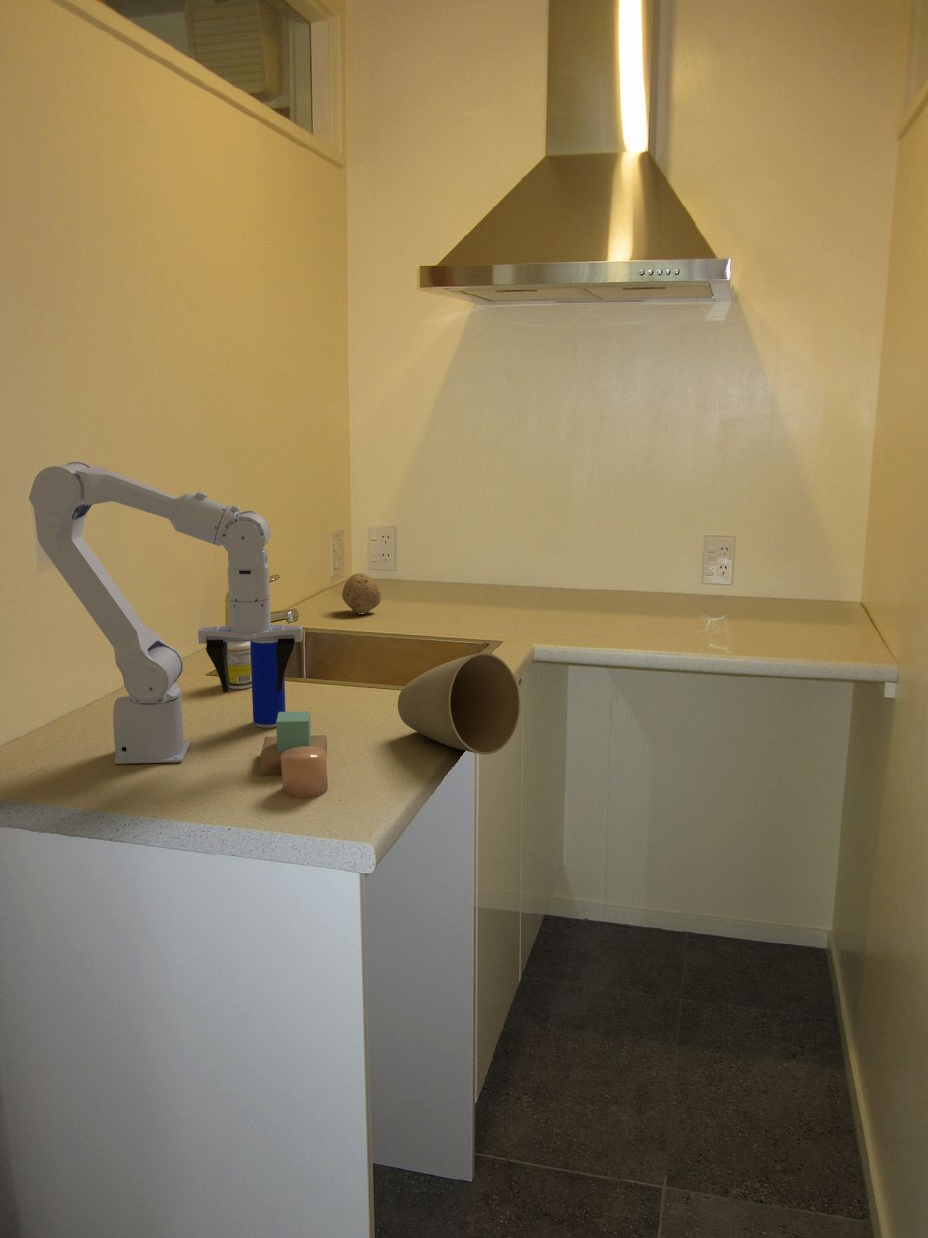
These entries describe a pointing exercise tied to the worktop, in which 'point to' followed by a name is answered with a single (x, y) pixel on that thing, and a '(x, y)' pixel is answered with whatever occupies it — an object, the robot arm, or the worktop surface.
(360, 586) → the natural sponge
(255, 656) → the beverage can
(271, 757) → the base
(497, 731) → the plant pot
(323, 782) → the rounded knob
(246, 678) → the supplement bottle
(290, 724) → the cube
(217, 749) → the worktop surface
